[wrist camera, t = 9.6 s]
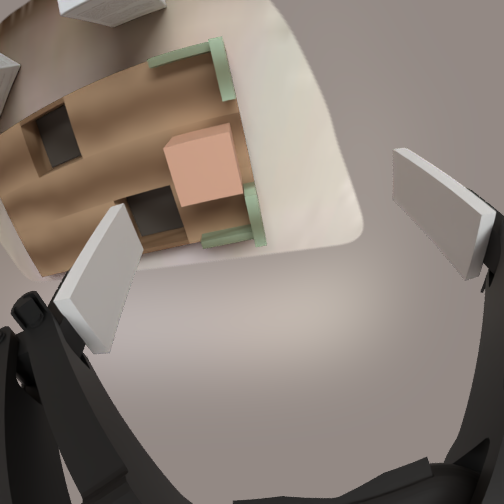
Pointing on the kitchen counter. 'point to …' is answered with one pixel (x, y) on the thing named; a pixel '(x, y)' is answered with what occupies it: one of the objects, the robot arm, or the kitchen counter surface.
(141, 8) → the small box
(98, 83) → the tray
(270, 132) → the kitchen counter surface
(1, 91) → the supplement box
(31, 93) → the kitchen counter surface
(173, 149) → the block
